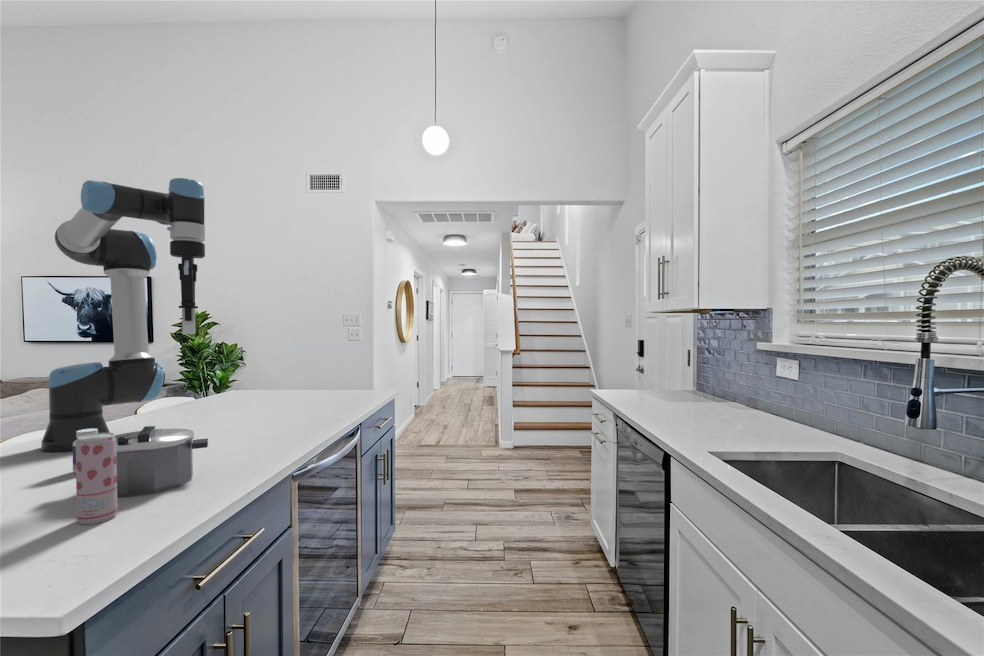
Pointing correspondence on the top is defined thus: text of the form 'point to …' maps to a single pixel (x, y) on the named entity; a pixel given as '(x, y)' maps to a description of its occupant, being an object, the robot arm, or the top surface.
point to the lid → (151, 439)
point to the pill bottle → (78, 434)
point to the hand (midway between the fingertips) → (188, 334)
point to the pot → (155, 469)
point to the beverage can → (96, 478)
